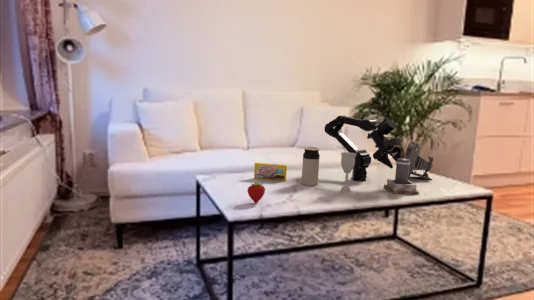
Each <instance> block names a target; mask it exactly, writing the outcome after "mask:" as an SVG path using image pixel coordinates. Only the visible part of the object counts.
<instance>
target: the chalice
mask: <svg viewBox="0 0 534 300" xmlns="http://www.w3.org/2000/svg"><path fill="white" fill-rule="evenodd" d="M340 155H341V161H340V165H341V169H342V170H343V173H344V174H345V177H344V178H345V180H344V185H343V186H342V187H341V189H340V191H339V192H341V193H344V194H351V193H352V190H351V187H350V186H349V185H348V183H349V174H350V173H351V172H353V167H354V165H355V156H356V155H357V154H356V153H350V152H348V151H347V152H346V151H343V152H340Z"/></svg>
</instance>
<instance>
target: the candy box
mask: <svg viewBox="0 0 534 300" xmlns="http://www.w3.org/2000/svg"><path fill="white" fill-rule="evenodd" d="M287 169H288V165H287V164H280V163H278V164H277V163H264V162H254V172H253V174H254V175H253V180H263V181H265V180H267V181H277V182H278V181H279V182H286V181H287V171H288V170H287Z"/></svg>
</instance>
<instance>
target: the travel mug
mask: <svg viewBox="0 0 534 300" xmlns="http://www.w3.org/2000/svg"><path fill="white" fill-rule="evenodd" d="M303 149H304V152H303V155H302V169H301V184H302V185H303V186H306V187H307V186H308V187H315V186H317V185H319V169H320V154H319V151H320V148H319V147H317V146H305V147H304V148H303Z"/></svg>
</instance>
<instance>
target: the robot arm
mask: <svg viewBox="0 0 534 300" xmlns="http://www.w3.org/2000/svg"><path fill="white" fill-rule="evenodd" d="M324 125H325V126H324V132H325V134H327V135H328V136H330V137H332V138H334V139H336V140H337V141H338V143H340V145H341V146H342V147H343V148H344V149H345V150H346V151H347V152H350V153H356V154H357V155H356V156H355V165H354V167H353V169H352V171H351V172H352V175H351V177H350V178H351V179H352V180H353V181H357V182H358V181H359V182H361V181H362V182H366V181H367V177H368V176H367V173H368V172H367V169H368V168H369V166H370V165H371V163H372V158H373V160H375V161H377V162H380V163H382V164H383V165H385V166H387V167H388V168H390V169H393V168H394V165H393V164H392V162H391V160H390V158H389V156H390V157H391V159H393V160H394V161H395V162H397V159H398V158H403V157H402V153H403V152H404V147H403V146H402V145H401V144H402V138H401V137H400V136H399V135H398V136H394V137H393V138H391V139H390V138H386V136H388V135H389V134H390V133H392V131H394V130H395V129H396V127H397V125H396V123H395V122H393V120H392V119H389V117H385V118H383V120H382V121H381V122H378V121H377V120H376V119H361V118H356V117H351V116H346V115H338V116H337V117H335V118H334V119H332V120H331V121H329V122H328V123H326V124H324ZM344 125H348V126H353V127H356V128H359V129H361V130H362V131H365V132H368V133H367V137H366V139H367V140H369V139H371V140H372V141H373V142H374V144H375V146H374V147H375V148H376V149H377V150H376V151H375V152H373V154H372V156H371V154H370V153H368V151H367V150H366V149H359V148H358V147H357V146H356V145H355V143H353V141H351V140H350V138H349V137H347V136H346V135H345V134H344V133H343V129H342V128H343V126H344Z"/></svg>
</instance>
